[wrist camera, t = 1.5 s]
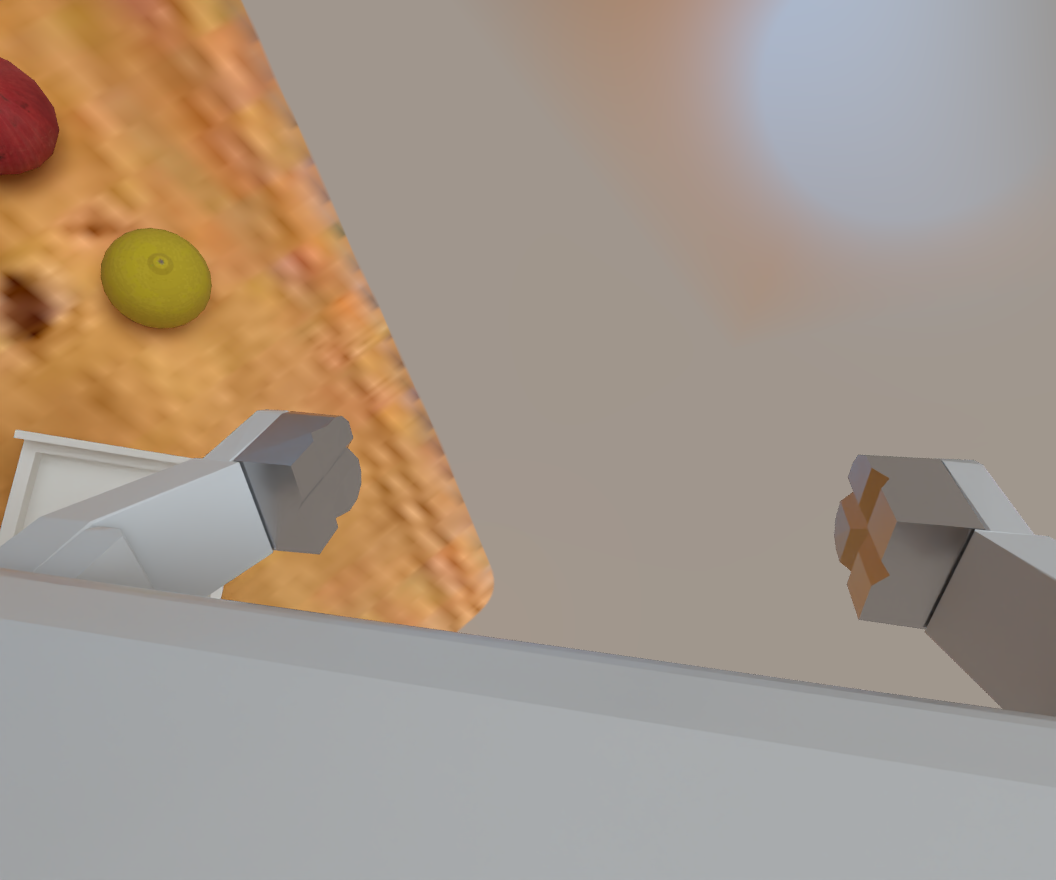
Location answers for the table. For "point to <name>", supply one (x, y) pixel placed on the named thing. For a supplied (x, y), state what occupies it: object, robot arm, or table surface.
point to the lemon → (156, 278)
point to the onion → (24, 122)
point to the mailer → (72, 476)
